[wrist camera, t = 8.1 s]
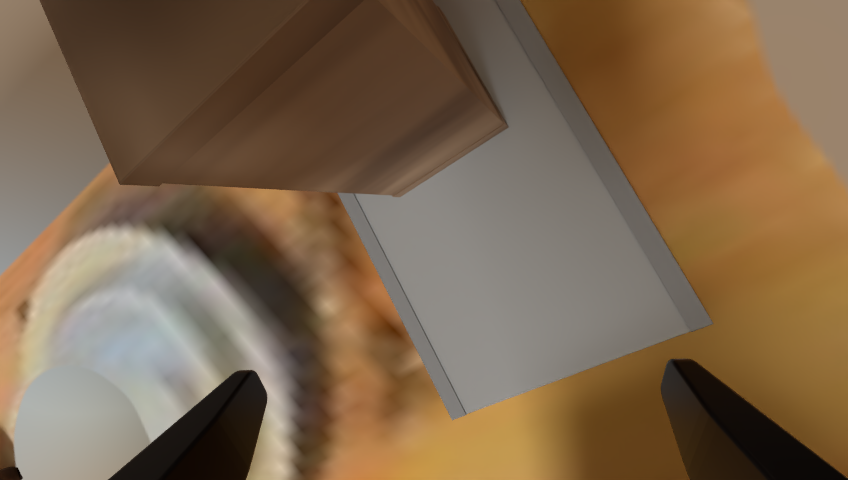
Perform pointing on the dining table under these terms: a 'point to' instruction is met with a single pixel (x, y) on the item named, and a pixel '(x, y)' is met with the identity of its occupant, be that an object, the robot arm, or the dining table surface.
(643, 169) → the dining table surface
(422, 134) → the brown wooden block
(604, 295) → the bay
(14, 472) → the bolt
